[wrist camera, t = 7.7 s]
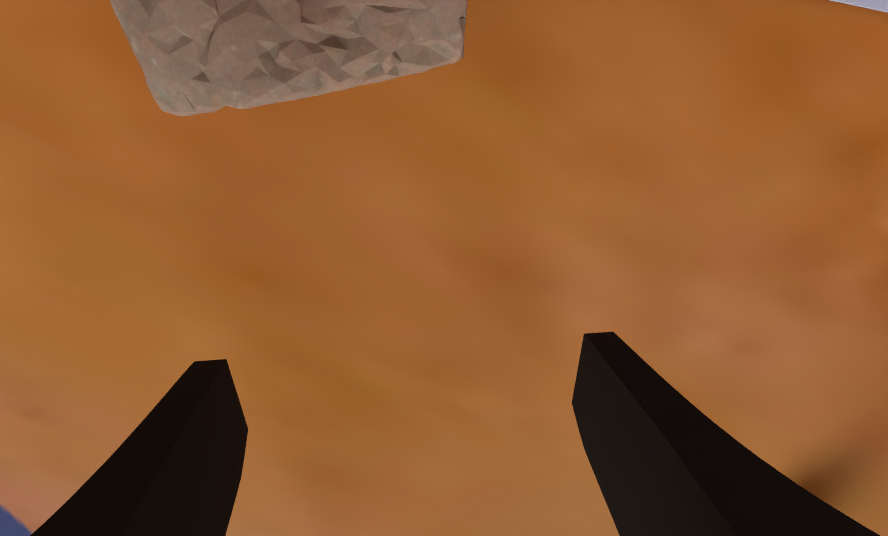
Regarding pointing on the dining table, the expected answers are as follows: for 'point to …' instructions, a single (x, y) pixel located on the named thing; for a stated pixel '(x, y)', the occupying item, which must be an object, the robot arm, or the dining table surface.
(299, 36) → the brick
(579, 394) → the robot arm
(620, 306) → the dining table surface
